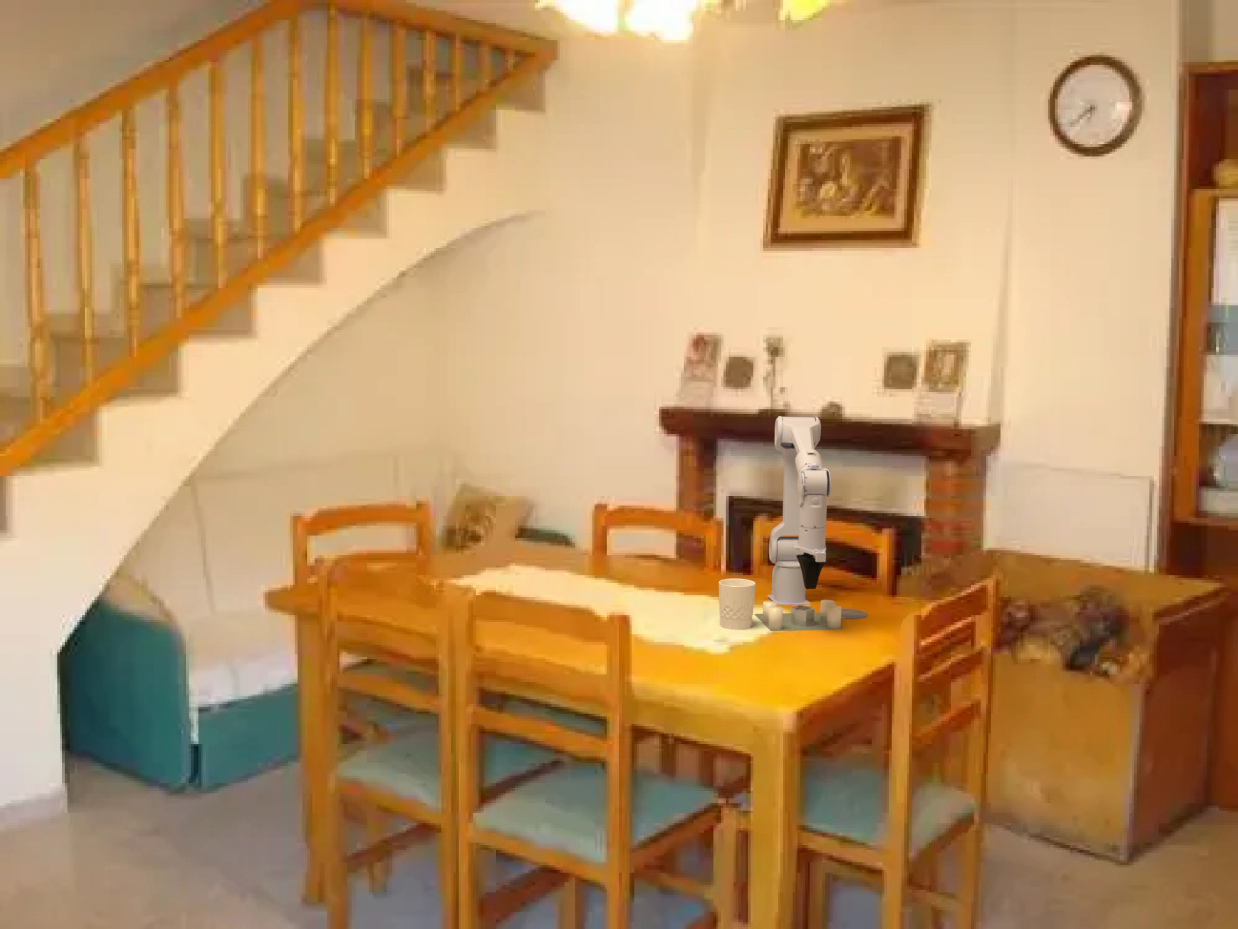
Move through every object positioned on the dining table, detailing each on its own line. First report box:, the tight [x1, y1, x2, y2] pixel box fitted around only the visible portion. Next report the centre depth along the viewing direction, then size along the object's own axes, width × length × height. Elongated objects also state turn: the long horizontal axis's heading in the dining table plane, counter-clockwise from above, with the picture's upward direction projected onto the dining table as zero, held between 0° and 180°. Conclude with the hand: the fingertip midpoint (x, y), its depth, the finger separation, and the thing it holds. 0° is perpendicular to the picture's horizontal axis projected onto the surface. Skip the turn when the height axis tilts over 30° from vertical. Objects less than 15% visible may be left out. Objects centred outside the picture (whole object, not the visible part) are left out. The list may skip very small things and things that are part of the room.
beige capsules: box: [762, 599, 842, 630], centre depth 307 cm, size 8×16×4 cm, turn 98°
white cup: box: [718, 578, 756, 631], centre depth 305 cm, size 8×8×10 cm
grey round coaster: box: [841, 608, 868, 620], centre depth 317 cm, size 9×9×1 cm
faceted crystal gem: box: [790, 605, 816, 627], centre depth 308 cm, size 5×4×4 cm
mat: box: [753, 612, 844, 632], centre depth 310 cm, size 15×16×1 cm
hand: (810, 588), depth 302 cm, fingers closed
